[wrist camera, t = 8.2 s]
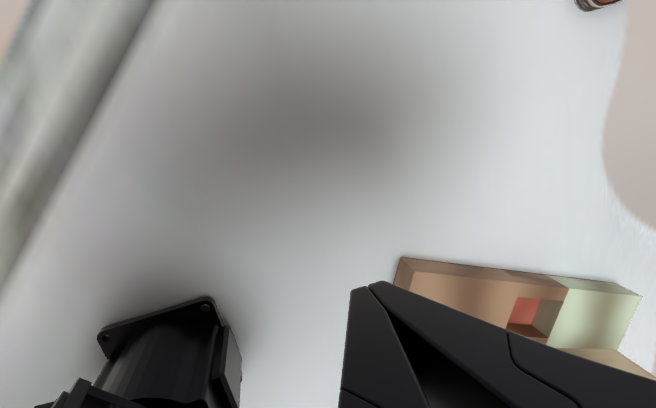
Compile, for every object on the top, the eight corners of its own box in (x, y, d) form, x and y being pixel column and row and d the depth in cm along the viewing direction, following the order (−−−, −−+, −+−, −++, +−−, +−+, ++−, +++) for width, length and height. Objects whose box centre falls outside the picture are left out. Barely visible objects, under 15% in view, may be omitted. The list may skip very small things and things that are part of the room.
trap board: (346, 448, 26) (354, 475, 24) (400, 257, 22) (414, 271, 20) (544, 441, 31) (563, 463, 29) (615, 283, 27) (642, 296, 25)
